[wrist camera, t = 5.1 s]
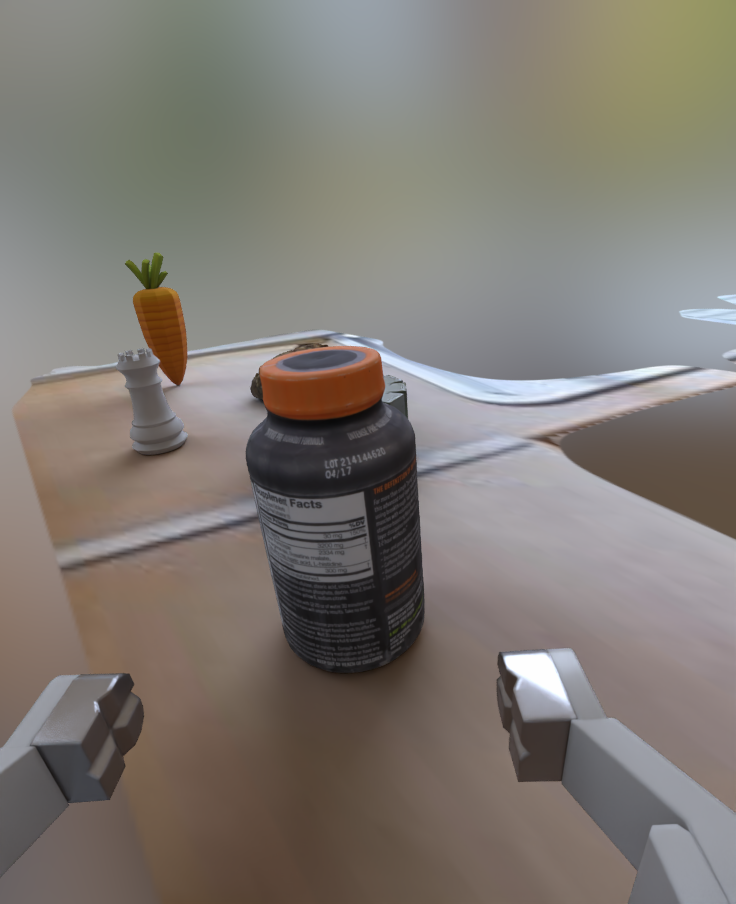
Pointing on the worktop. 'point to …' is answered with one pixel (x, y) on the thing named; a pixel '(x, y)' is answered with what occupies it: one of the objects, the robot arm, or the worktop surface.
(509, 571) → the worktop surface
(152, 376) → the rook chess piece
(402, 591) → the pill bottle
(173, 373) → the carrot
